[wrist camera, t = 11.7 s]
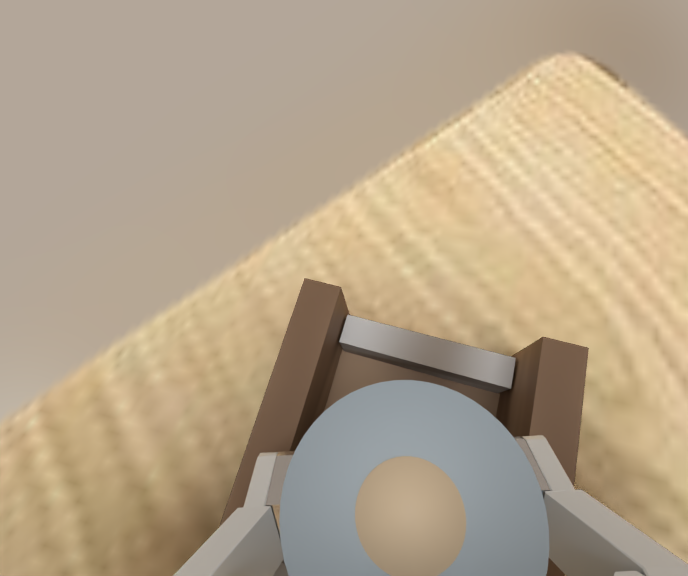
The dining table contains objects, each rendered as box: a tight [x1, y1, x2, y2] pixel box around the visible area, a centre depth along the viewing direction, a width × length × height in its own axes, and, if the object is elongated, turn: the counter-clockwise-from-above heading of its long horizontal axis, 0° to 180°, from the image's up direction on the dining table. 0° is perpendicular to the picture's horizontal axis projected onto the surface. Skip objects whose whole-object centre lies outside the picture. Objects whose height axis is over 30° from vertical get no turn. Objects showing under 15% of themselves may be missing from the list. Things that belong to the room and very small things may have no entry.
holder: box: [219, 278, 589, 576], centre depth 15 cm, size 11×11×6 cm
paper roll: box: [279, 380, 549, 576], centre depth 11 cm, size 4×4×9 cm
